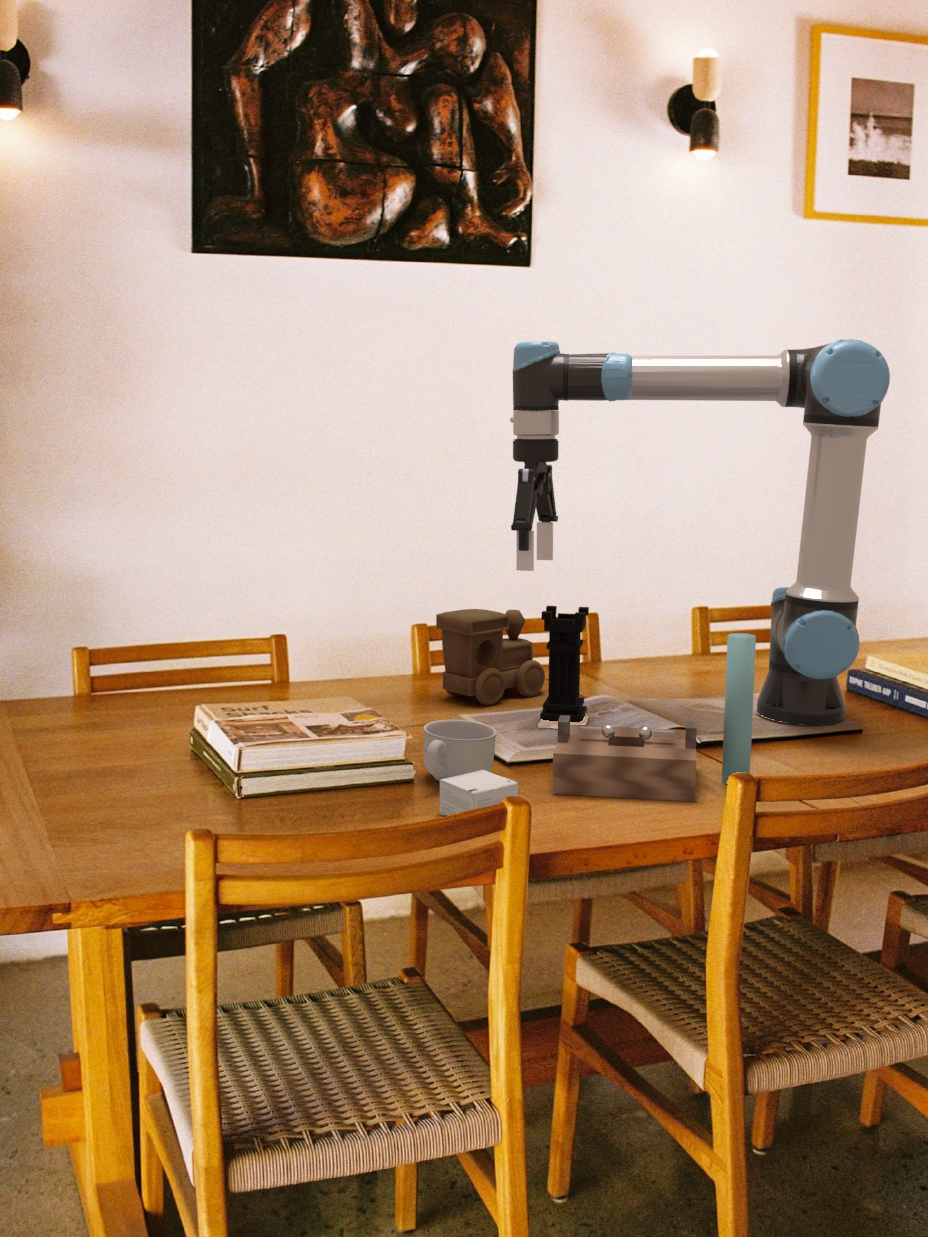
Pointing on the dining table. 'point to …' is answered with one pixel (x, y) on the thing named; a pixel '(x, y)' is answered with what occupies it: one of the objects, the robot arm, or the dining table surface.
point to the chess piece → (564, 664)
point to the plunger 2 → (654, 733)
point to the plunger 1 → (599, 730)
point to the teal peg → (738, 704)
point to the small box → (474, 791)
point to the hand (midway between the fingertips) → (535, 565)
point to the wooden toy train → (487, 655)
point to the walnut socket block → (625, 763)
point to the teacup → (458, 747)
